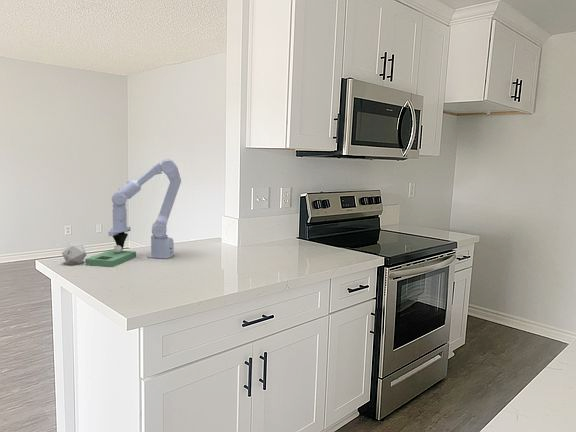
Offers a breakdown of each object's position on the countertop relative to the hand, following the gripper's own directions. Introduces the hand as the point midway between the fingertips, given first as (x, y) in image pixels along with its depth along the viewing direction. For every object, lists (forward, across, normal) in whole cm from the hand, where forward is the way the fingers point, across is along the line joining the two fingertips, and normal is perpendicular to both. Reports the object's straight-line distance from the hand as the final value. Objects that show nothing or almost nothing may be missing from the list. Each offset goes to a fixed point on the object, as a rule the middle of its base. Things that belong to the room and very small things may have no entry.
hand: (120, 249), depth 201 cm
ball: (-1, +2, 0) cm, 2 cm away
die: (+4, +15, -12) cm, 19 cm away
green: (+3, +7, 0) cm, 8 cm away
